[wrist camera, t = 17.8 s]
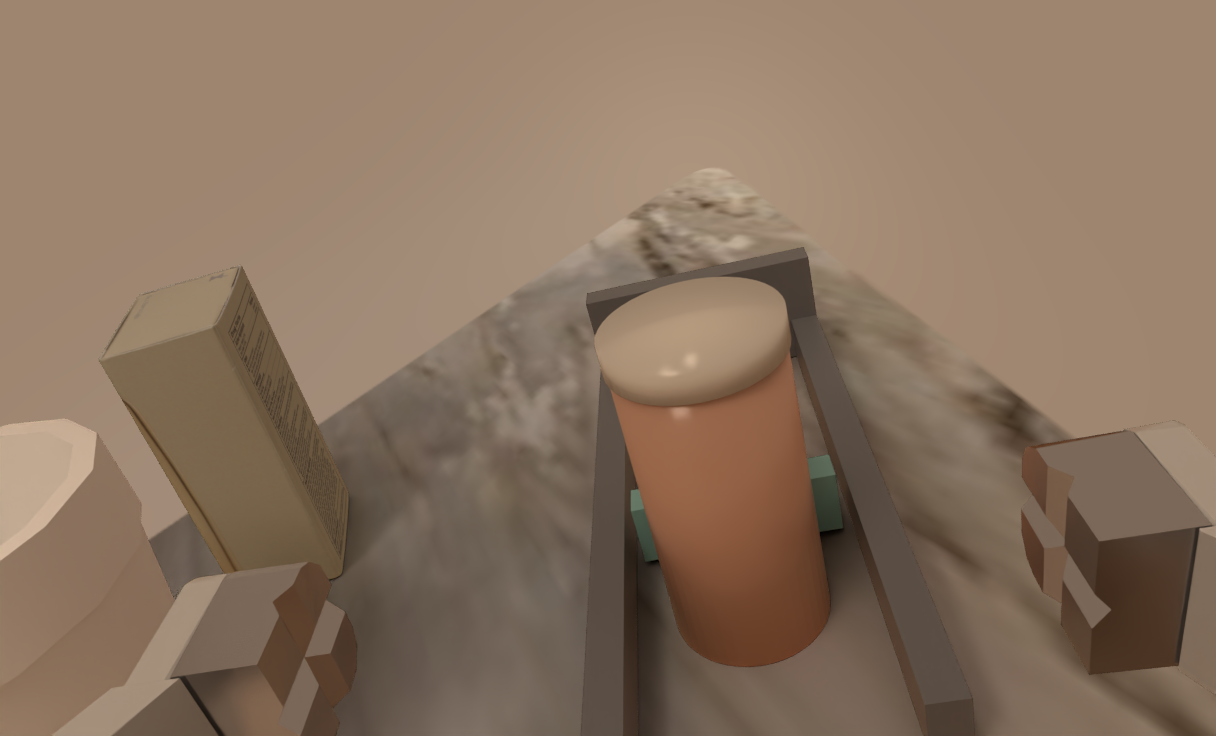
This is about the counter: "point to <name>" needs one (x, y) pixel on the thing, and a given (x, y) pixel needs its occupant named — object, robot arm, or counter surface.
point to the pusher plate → (822, 493)
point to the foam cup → (69, 576)
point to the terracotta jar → (721, 463)
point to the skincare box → (230, 424)
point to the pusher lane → (866, 495)
